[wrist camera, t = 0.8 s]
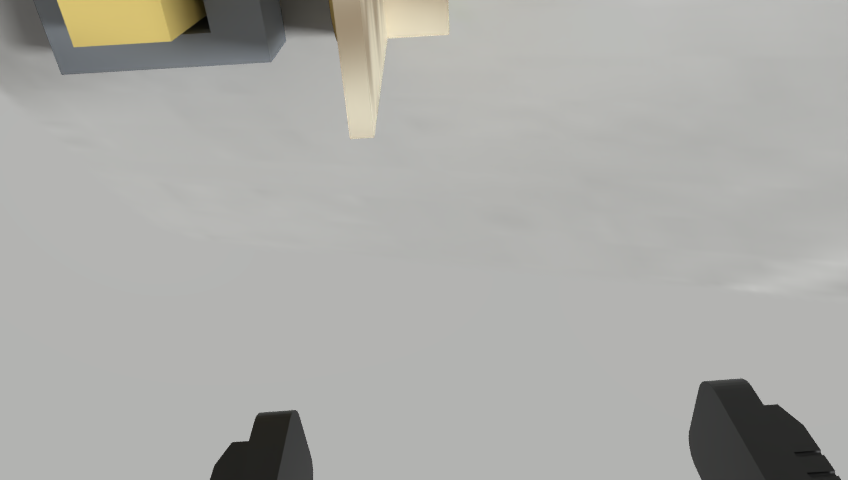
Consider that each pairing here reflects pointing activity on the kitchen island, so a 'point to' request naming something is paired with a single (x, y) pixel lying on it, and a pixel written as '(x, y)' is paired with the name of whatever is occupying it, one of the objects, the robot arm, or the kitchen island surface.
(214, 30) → the board
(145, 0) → the button
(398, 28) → the card
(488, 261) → the kitchen island surface
